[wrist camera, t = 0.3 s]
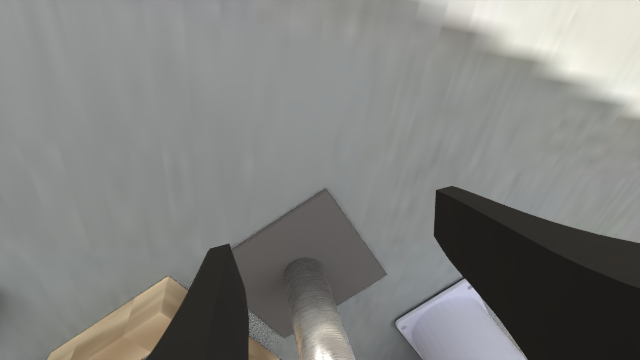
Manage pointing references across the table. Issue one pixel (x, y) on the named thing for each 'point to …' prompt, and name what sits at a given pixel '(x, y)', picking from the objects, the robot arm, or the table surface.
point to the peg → (315, 313)
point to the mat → (301, 242)
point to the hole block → (136, 329)
